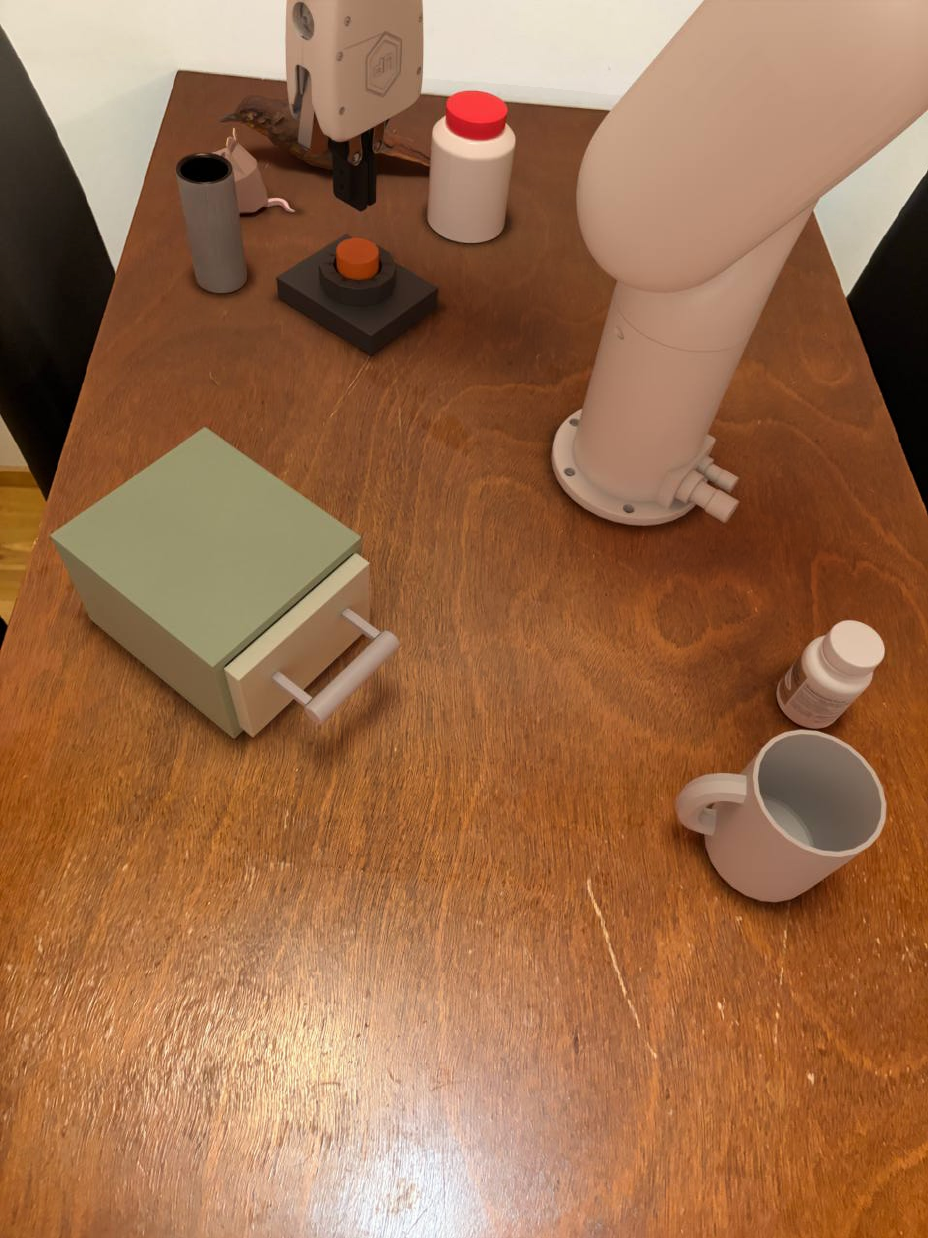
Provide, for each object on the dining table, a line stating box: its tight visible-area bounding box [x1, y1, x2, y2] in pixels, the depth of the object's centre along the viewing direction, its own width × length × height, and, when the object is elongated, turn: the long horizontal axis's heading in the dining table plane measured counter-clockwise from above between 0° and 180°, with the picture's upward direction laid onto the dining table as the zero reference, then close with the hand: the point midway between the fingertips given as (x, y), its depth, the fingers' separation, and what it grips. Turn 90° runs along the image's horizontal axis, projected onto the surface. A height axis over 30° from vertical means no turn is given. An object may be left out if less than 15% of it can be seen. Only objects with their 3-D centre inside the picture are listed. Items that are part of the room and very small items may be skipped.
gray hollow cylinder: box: [174, 152, 248, 294], centre depth 76 cm, size 4×4×10 cm
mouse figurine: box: [212, 127, 296, 215], centre depth 84 cm, size 5×8×7 cm, turn 80°
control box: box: [275, 233, 439, 357], centre depth 78 cm, size 11×9×4 cm
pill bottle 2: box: [776, 619, 886, 729], centre depth 58 cm, size 4×4×8 cm
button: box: [336, 237, 379, 280], centre depth 76 cm, size 4×4×2 cm
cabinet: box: [49, 426, 363, 740], centre depth 57 cm, size 14×12×9 cm
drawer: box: [224, 553, 401, 738], centre depth 56 cm, size 17×11×7 cm, turn 52°
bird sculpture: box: [216, 94, 431, 171], centre depth 90 cm, size 7×25×5 cm, turn 92°
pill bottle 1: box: [426, 90, 517, 244], centre depth 84 cm, size 8×8×11 cm
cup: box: [674, 729, 887, 903], centre depth 51 cm, size 7×10×9 cm
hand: (354, 199), depth 72 cm, fingers closed
